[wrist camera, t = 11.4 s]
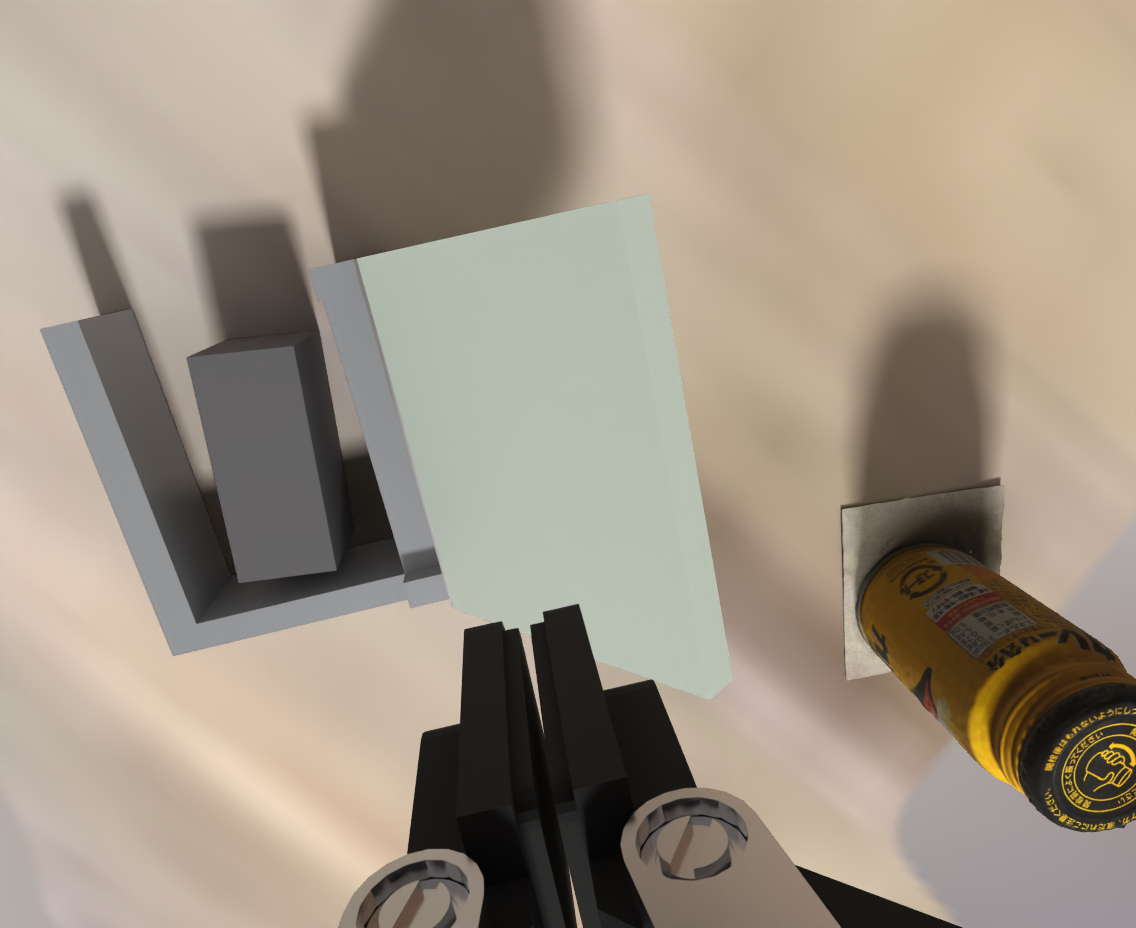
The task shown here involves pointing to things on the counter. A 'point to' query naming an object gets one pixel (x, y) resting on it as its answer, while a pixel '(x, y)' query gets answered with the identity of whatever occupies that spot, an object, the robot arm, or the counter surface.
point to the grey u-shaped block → (175, 506)
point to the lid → (555, 433)
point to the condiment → (989, 655)
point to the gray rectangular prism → (274, 453)
